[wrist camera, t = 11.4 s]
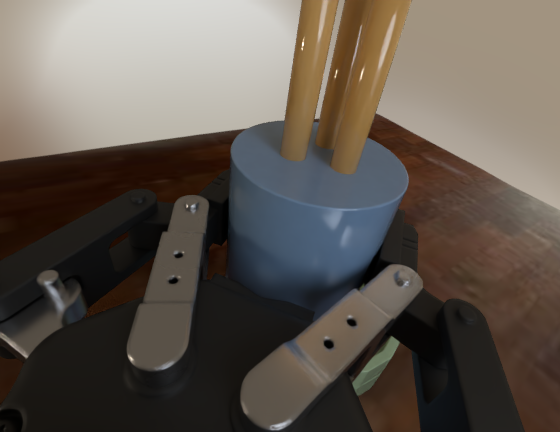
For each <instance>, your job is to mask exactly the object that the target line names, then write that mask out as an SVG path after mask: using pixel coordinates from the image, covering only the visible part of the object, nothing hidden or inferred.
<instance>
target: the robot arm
mask: <svg viewBox="0 0 560 432" xmlns="http://www.w3.org/2000/svg"><path fill="white" fill-rule="evenodd" d="M229 178H230V169H229V170H226V171H224V172H222V173H221V174H220V175H219V176H218V177H217V178H215V179H214V180H213V181H212V183H210V184H209V185H208V186H207V187H206V188H204V189H203V190H202V191H201V192H200V193H199V194H198V195H188V196H184V197H181V198H179V199H178V200H177V201H176V202H175V203H165V202H157V197H156V194H155V193H154V192H152V191H150V190H146V189H135V190H131V191H128V192H126V193H124V194H123V195H121V196H119V197H117V198H115V199H113V200H111V201H110V202H108V203H106V204H104V205H102V206H100V207H99V208H97V209H95V210H93V211H91V212H89V213H87V214H86V215H84V216H82V217H80V218H78V219H76V220H75V221H73V222H71V223H69V224H67V225H65V226H63V227H62V228H60V229H58V230H56V231H54V232H52V233H51V234H49V235H47V236H45V237H43V238H41V239H39V240H38V241H36V242H34V243H32V244H30V245H28V246H27V247H25V248H23V249H21V250H19V251H17V252H15V253H14V254H12V255H10V256H8V257H6V258H4V259H3V260H1V261H0V356H1V357H3V358H6V359H15V358H18V359H19V360H20V361H22V362H23V363H24V365H23V367H22V369H21V371H20V373H19V375H18V378H17V380H16V382H15V383H14V385H13V387H12V389H11V391H10V392H9V394H8V395H7V397H6V398H5V400H4V401H3V402H2V404H1V405H0V432H373V431H372V429H371V427H370V424H369V422H368V419H367V417H366V415H365V412H364V410H363V408H362V405H361V403H360V401H359V398H358V396H357V394H356V391H355V389H354V387H353V384H352V383H353V382H354V381H355V379H356V378H357V377H358V376H359V374H360V373H361V372H362V370H363V369H364V367H365V366H366V365H367V364H368V362H369V361H370V360H371V359H372V358H373V357H374V355H375V354H376V353H377V352H378V351H379V350H380V349H381V348H382V346H383V345H384V344H385V343H386V342H387V341H388V340H389V338H390V337H391V336H392V337H393V338H395V339H396V340H398V341H399V342H401V343H402V344H403V345H405V346H406V347H408V348H409V349H410V350H412V359H413V368H414V376H415V385H416V394H417V402H418V411H419V420H420V428H421V432H525V431H524V428H523V425H522V422H521V419H520V416H519V413H518V411H517V408H516V405H515V402H514V399H513V396H512V393H511V390H510V387H509V385H508V382H507V379H506V376H505V373H504V370H503V367H502V364H501V361H500V359H499V356H498V353H497V350H496V347H495V344H494V341H493V338H492V335H491V333H490V330H489V327H488V324H487V321H486V319H485V317H484V316H483V314H482V313H481V312H480V311H479V310H478V309H477V308H476V307H475V306H473V305H472V304H470V303H468V302H466V301H463V300H460V299H449V300H447V301H446V302H445V303H444V302H442V301H441V300H439V299H437V298H436V297H434V296H433V295H431V294H430V293H428V292H427V291H426V290H425V289H424V288H423V282H422V280H421V278H420V276H419V275H418V274H417V257H418V251H417V250H418V244H417V243H418V233H417V232H416V230H415V228H414V226H413V225H410V224H406V223H404V216H405V211H403V210H400V209H398V210H397V212H396V214H395V217H394V219H393V221H392V223H391V225H390V228H389V230H388V232H387V234H386V236H385V239H384V241H383V243H382V245H381V247H380V250H379V252H378V254H377V256H376V258H375V261H374V263H373V265H372V267H371V269H370V272H369V274H368V276H367V278H366V280H365V283H364V287H363V288H362V289H361V290H358V289H357V288H355V289H353V290H351V291H350V292H349V293H348V294H347V295H345V296H344V297H343V298H342V299H341V300H340V301H338V302H337V303H336V304H335V305H334V306H332V307H331V308H330V309H329V310H328V311H326V312H325V313H324V314H323V315H322V316H321V317H319V318H318V319H317V320H316V321H313V317H314V314H315V312H314V311H312V310H309V309H306V308H304V307H301V306H299V305H296V304H294V303H291V302H287V301H281V300H275V299H268V298H263V297H260V296H258V295H257V294H255V293H254V292H252V291H251V290H250V289H248V288H247V287H245V286H244V285H242V284H241V283H239V282H237V281H235V280H232V279H230V278H227V277H224V276H222V275H219V274H217V273H215V274H214V276H213V277H212V278H211V280H207V271H208V261H209V247H210V246H211V245H212V244H213V243H215V244H218V245H220V246H222V244H223V243H224V242H225V241H226V239H227V227H228V203H229ZM127 231H128V236H129V237H127V238H126V239H124V240H123V241H121V242H120V243H118V244H117V245H115V246H114V247H112V248H111V249H109V247H110V245H111V243H112V242H113V241H114V240H115V239H116V238H118V237H119V236H121V235H123V234H124V233H126V232H127ZM155 255H156V257H155V260H154V264H153V267H152V271H151V274H150V278H149V281H148V285H147V289H146V292H145V296H144V297H141V298H138V299H136V300H133V301H130V302H127V303H125V304H122V305H119V306H117V307H114V308H111V309H108V310H106V311H103V312H100V313H98V314H95V315H92V316H90V317H87V318H84V317H85V316H86V314H87V311H88V308H89V307H90V306H91V305H93V304H94V303H95V302H97V301H98V300H99V299H100V298H102V297H103V296H104V295H106V294H107V293H108V292H109V291H111V290H112V289H113V288H114V287H116V286H117V285H118V284H120V283H121V282H122V281H123V280H125V279H126V278H127V277H129V276H130V275H131V274H132V273H134V272H135V271H136V270H137V269H139V268H140V267H141V266H143V265H144V264H145V263H146V262H148V261H149V260H150V259H152V258H153V257H154V256H155ZM83 318H84V319H83Z"/></svg>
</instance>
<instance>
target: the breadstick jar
mask: <svg viewBox="0 0 560 432" xmlns="http://www.w3.org/2000/svg"><path fill="white" fill-rule="evenodd" d="M338 1H339V0H302V4H301V11H300V18H299V24H298V31H297V38H296V45H295V52H294V59H293V66H292V73H291V79H290V87H289V93H288V100H287V107H286V114H285V120H284V121H274V122H268V123H262V124H259V125H255V126H253V127H250V128H248V129H246V130H244V131H243V132H241V133H240V134H239V135H238V136H237V137H236V138H235V140H234V141H233V144H232V146H231V153H230V178H229V203H228V227H227V252H226V277H227V278H230V279H232V280H235V281H237V282H239V283H241V284H242V285H244V286H245V287H247V288H248V289H250V290H251V291H252V292H254V293H255V294H257V295H258V296H260V297H263V298H268V299H275V300H281V301H287V302H291V303H294V304H296V305H299V306H301V307H304V308H306V309H309V310H312V311H314V312H315V314H314V317H313V321H316V320H317V319H318V318H319V317H321V316H322V315H323V314H324V313H325V312H326V311H328V310H329V309H330V308H331V307H332V306H334V305H335V304H336V303H337V302H338V301H340V300H341V299H342V298H343V297H344V296H345V295H347V294H348V293H349V292H350V291H351V290H353V289H355V288H357V289H358V290H361V289H362V287H363V285H364V283H365V280H366V278H367V276H368V274H369V272H370V269H371V267H372V265H373V263H374V261H375V258H376V256H377V254H378V252H379V250H380V247H381V245H382V243H383V241H384V239H385V236H386V234H387V232H388V230H389V228H390V225H391V223H392V221H393V219H394V217H395V214H396V212H397V210H398V208H399V206H400V203H401V201H402V199H403V197H404V195H405V192H406V190H407V187H408V174H407V171H406V169H405V167H404V165H403V164H402V163H401V161H400V160H399V159H398V158H397V157H396V156H395V155H394V154H393V153H392V152H390V151H389V150H388V149H386V148H385V147H383V146H382V145H380V144H378V143H377V142H375V141H373V140H371V139H369V138H368V135H369V132H370V129H371V126H372V122H373V119H374V116H375V113H376V110H377V107H378V104H379V101H380V98H381V95H382V92H383V88H384V85H385V82H386V79H387V76H388V73H389V70H390V67H391V64H392V61H393V58H394V54H395V51H396V48H397V45H398V42H399V39H400V36H401V33H402V29H403V27H404V23H405V21H406V17H407V14H408V11H409V8H410V5H411V2H412V0H345V3H344V8H343V12H342V17H341V21H340V26H339V31H338V35H337V40H336V45H335V49H334V54H333V58H332V63H331V68H330V72H329V77H328V82H327V86H326V91H325V96H324V100H323V105H322V110H321V114H320V119H319V123H316V122H314V118H315V113H316V108H317V103H318V99H319V94H320V89H321V84H322V79H323V74H324V69H325V64H326V60H327V55H328V50H329V45H330V40H331V35H332V30H333V25H334V21H335V16H336V10H337V6H338Z"/></svg>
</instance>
